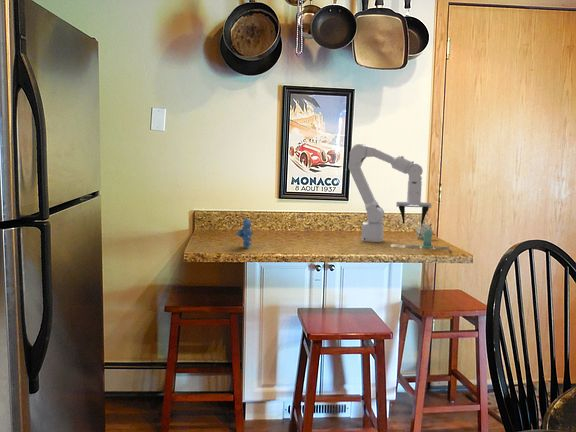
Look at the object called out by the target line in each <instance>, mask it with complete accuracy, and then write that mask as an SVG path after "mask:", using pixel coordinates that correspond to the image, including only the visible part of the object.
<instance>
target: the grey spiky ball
mask: <svg viewBox="0 0 576 432" xmlns="http://www.w3.org/2000/svg"><path fill="white" fill-rule="evenodd" d="M427 229H429V230H431V231H432V236H435V235H436V234H435V233H434V232H433V228H432V223H430V224H425V223H423V225H422V224H421V223H420V225H419V226H417V228H413V231H415V233H416V236H417V240H424V235H423V233H424V231H425V230H427Z"/></svg>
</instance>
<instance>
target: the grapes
mask: <svg viewBox="0 0 576 432" xmlns="http://www.w3.org/2000/svg"><path fill="white" fill-rule="evenodd" d="M242 222H243V223H242V225H243V226H242V228H241V229H238V230H237V232H236V235H237V236H238V237H239V238H241V239H242V240H243V243H242V245H243V247H244V248H246V249H249V248H250V246H251V245H252V243H251V241H252V238H251V237H252V235H253V234H254V232H253V231H252V230H251V226H252V221H251V220H250V218H248V217H247V218H245V219H244V220H243V221H242Z"/></svg>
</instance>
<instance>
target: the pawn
mask: <svg viewBox="0 0 576 432" xmlns="http://www.w3.org/2000/svg"><path fill="white" fill-rule="evenodd" d="M432 231H433V230H432ZM432 231H431V230H429V229H427V230H425V231H424V233H423V235H424V239H422V240H423V241H422V242H423V244H421V245H420V246H421V247H422V248H427V249H426V250H432V249H431V248H433V247H434V244H432V237H433V235H432Z"/></svg>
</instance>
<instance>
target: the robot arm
mask: <svg viewBox="0 0 576 432" xmlns="http://www.w3.org/2000/svg"><path fill="white" fill-rule="evenodd" d="M370 157H371V158H372V157H374V158H376V159H378V160H381V161H383V162H386V163H388V164H390V165H391V168H392V169H394V170H396V171H398V172H401V173H403V174H405V175H408V181H407V192H406V193H407V197H406V201H396V204H395V205H396V207H398V210H399V212H400V215H401V219H402V224H403V225H405V214H406V213H405V212H406V208H421V217H420V218H421V220H420V225H421V224H422V225H423V224H424V221H425V218H426V215H427V213H428V211H429V209H431V208H432V202H421V201H422V185H423V184H422V183H423V182H422V179H423V178H422V174H423V173H424V172H423V167H422V166H421V165H420V164H418V163H415V161H414V160H412V161H410V160H409V159H406V158H405V156H403V155H401V156H400V155H397V156H392V155H390V154H388V153H386V152H384V151H382V150H381V149H378V148H376V147H374V146H370V145H366V144H363V143H357V144H355V145H353V146H352V148H351V150H350V151H349V157H348V158H349V160H348V166H347V167H348V170H349V172H350V174H351V177H352V179H353V181H354V183H355V186H356V188H357V191H358V192H359V195H360V197H361V199H362V201H363V203H364V207H365V212H366V219H367V220H366V221H365V222H363V221H362V226H361V235H360V236H361V237H360V239H361V242H372V243H381V242H383V241H384V221H383V218H384V217H385V210H384V209H383V208H382V207H381V206H380V205H379V202H378V201H377V200H376V199H375V196H374V194H373V192H372V189H371V188H370V186H369V183H368V181H367V178H366V177H365V175H364V172H363V170H362V165H363V162H364V161H365V159H366V158H370Z"/></svg>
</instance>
